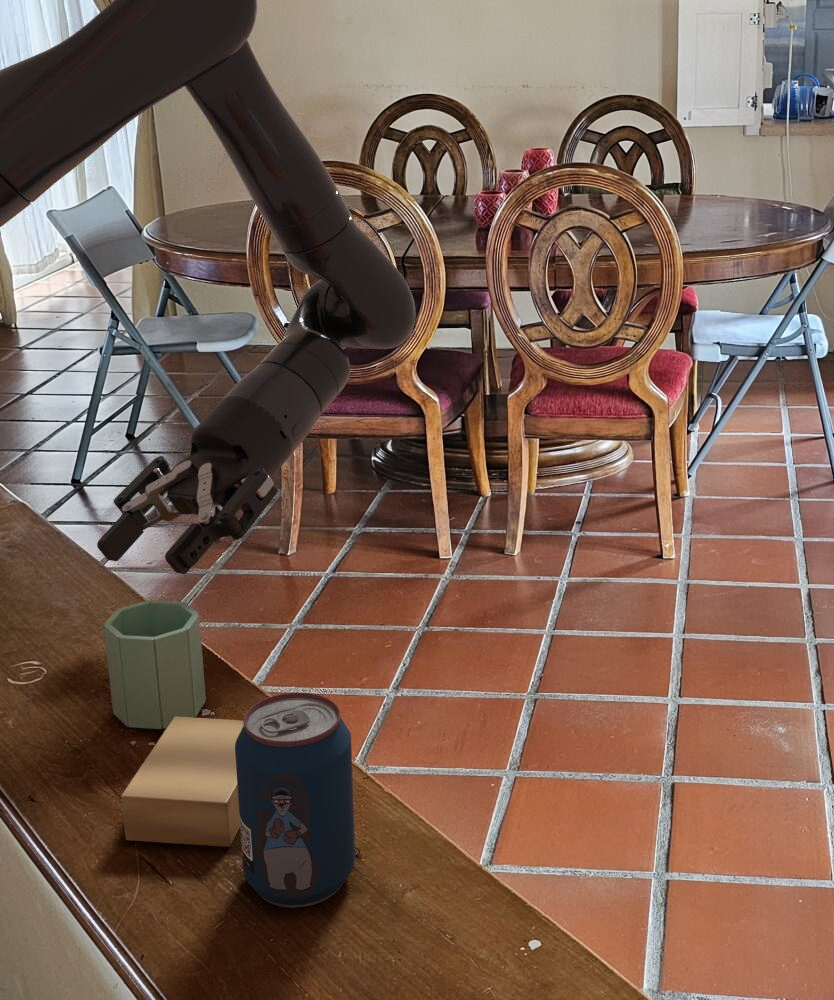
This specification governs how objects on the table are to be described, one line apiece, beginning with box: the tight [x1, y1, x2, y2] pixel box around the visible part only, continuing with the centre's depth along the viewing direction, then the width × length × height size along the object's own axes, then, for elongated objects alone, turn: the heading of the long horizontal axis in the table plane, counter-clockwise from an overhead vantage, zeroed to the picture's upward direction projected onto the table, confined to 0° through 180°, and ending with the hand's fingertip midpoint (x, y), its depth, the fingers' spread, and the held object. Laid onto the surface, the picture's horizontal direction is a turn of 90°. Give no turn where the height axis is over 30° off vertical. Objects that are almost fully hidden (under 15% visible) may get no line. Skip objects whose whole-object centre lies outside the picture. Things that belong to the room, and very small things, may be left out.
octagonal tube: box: [103, 599, 207, 733], centre depth 99 cm, size 8×6×6 cm
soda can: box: [235, 691, 356, 909], centre depth 81 cm, size 7×7×12 cm
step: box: [120, 716, 244, 848], centre depth 89 cm, size 10×7×4 cm
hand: (138, 560), depth 104 cm, fingers open, 8 cm apart
